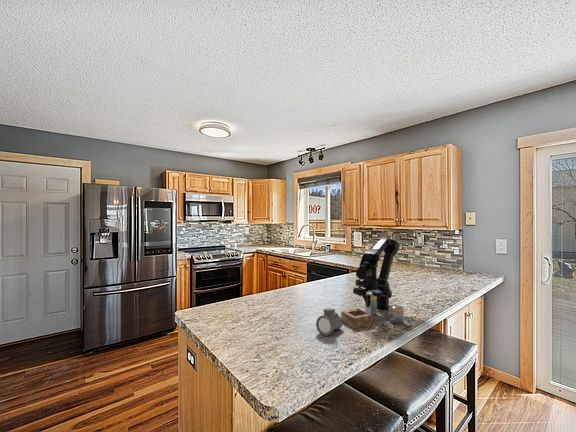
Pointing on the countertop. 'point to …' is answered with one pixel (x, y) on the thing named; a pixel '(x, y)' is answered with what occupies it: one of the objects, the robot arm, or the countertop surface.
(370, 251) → the robot arm
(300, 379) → the countertop surface
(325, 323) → the pipe fitting
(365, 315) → the block
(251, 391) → the countertop surface
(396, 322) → the cylinder
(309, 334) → the countertop surface
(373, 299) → the square bit
